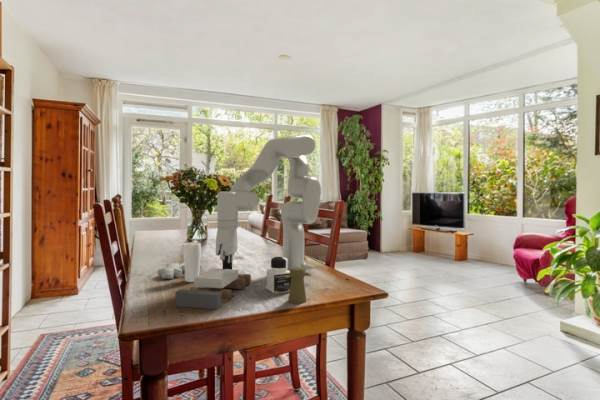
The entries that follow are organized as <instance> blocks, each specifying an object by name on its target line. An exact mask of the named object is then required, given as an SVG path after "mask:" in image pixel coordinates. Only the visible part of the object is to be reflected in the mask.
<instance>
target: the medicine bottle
mask: <svg viewBox="0 0 600 400" xmlns="http://www.w3.org/2000/svg"><path fill="white" fill-rule="evenodd" d="M287 269H288V259H287V258H285V257H283V256H275V257H272V258H271V259H270V269H267V270H266V290H268V291H270V292H271V293H272V294H274V295H276V294H282V293H289V292H290V285H291V276H290V271H288V270H287Z"/></svg>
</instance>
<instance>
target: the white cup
mask: <svg viewBox="0 0 600 400" xmlns="http://www.w3.org/2000/svg"><path fill="white" fill-rule="evenodd" d="M201 243H202V242H196V241H195V242H193V241H192V242H185V243H183V245H182V246H183V247H182V248H183V249H182V253H183V254H182V255H183V256H182V257H183V263H184V267H183V268H184V279H185V280H184V281H185V282H186V283H194V277H196V276H198V275H200V267H201V259H202V256H201V255H202V244H201Z"/></svg>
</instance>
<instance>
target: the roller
mask: <svg viewBox="0 0 600 400" xmlns="http://www.w3.org/2000/svg"><path fill="white" fill-rule="evenodd" d="M189 290H198V291H212V292H222V298H226V299H228V302H230V301H231V300H232V298H233V297H232V294H233V291H232V289H228V288H209V287H195V286H191V287H190V288H189Z"/></svg>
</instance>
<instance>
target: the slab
mask: <svg viewBox="0 0 600 400" xmlns="http://www.w3.org/2000/svg"><path fill="white" fill-rule="evenodd" d="M238 274H239V269H233V268H232V269H223V268H214V267H212V268H210V269H208V270H206V271H205V272H203V273H201V274H200V273H199V275H198V276H196V277H194V282H193V287H199V288H213V289H225V288H224V287H225V286H227V285H228V284H230V283H231V282H233V281H234V280H236V279H237V278H238Z"/></svg>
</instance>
